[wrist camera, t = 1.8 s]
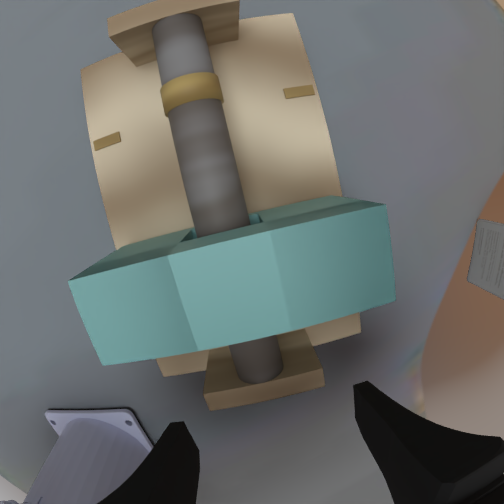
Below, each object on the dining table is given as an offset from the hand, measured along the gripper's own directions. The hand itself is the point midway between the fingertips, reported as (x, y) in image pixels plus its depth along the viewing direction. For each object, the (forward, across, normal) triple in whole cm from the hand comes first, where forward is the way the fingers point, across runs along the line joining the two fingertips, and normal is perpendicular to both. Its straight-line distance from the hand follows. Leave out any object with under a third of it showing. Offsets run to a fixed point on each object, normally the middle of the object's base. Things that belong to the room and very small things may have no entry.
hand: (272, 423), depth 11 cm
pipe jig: (+5, 0, -9) cm, 10 cm away
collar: (+4, 0, -7) cm, 8 cm away
